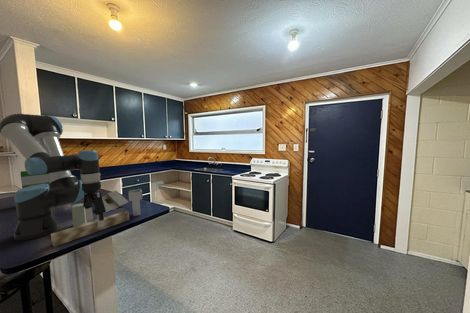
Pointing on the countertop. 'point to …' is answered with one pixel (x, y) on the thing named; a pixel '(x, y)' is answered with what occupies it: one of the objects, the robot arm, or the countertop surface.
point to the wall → (113, 200)
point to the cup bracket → (135, 200)
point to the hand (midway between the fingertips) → (95, 223)
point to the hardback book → (34, 179)
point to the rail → (87, 228)
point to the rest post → (78, 214)
